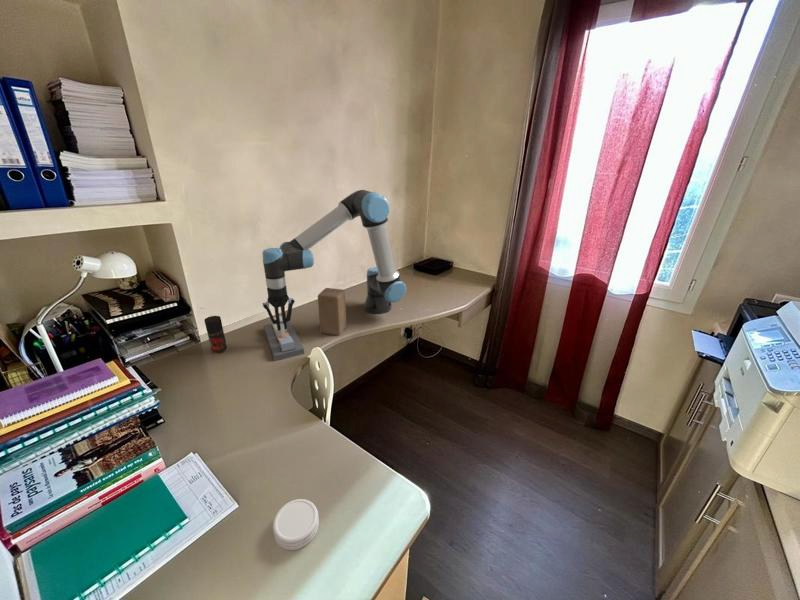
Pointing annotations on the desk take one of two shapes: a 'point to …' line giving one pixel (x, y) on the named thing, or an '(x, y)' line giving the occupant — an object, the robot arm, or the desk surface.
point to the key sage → (277, 330)
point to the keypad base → (276, 347)
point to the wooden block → (332, 311)
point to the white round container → (296, 524)
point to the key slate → (286, 343)
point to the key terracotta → (281, 337)
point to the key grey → (275, 319)
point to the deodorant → (215, 334)
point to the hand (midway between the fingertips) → (283, 335)
